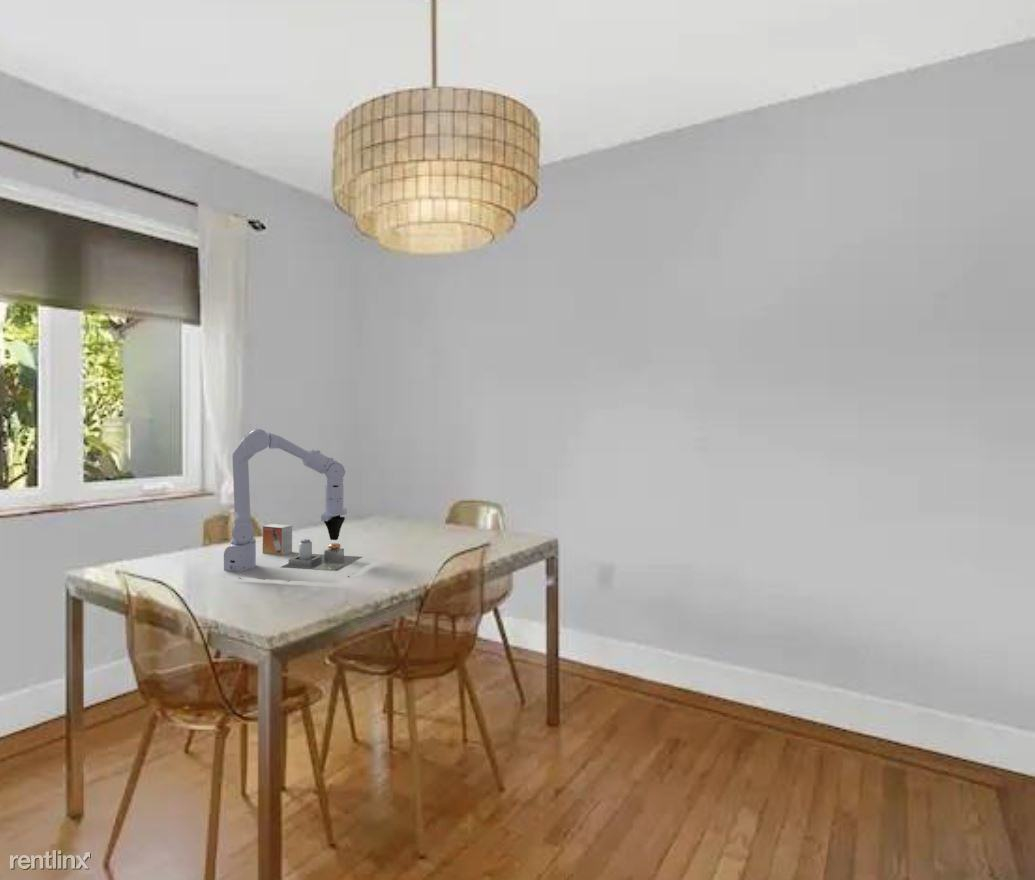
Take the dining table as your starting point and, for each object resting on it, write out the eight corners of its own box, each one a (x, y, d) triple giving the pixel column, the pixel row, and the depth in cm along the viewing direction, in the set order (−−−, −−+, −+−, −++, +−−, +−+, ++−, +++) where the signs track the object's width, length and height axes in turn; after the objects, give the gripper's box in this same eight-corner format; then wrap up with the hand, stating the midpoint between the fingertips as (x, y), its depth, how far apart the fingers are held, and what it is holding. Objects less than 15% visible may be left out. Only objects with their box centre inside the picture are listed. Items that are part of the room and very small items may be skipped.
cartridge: (308, 564, 204) (308, 541, 204) (296, 563, 205) (296, 541, 204) (314, 561, 208) (314, 539, 208) (302, 560, 209) (302, 538, 208)
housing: (337, 574, 197) (337, 560, 196) (280, 571, 200) (280, 557, 200) (362, 560, 215) (362, 547, 215) (309, 557, 218) (309, 544, 218)
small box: (262, 556, 218) (262, 525, 218) (273, 553, 224) (273, 523, 223) (281, 558, 216) (281, 527, 215) (292, 555, 221) (292, 524, 221)
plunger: (337, 558, 209) (337, 546, 209) (326, 558, 210) (326, 545, 209) (342, 556, 213) (342, 543, 212) (331, 555, 213) (331, 543, 213)
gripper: (336, 501, 202) (335, 544, 203) (355, 495, 217) (354, 535, 217) (315, 500, 203) (314, 543, 204) (335, 495, 218) (335, 534, 218)
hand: (334, 539), depth 211 cm, fingers closed
